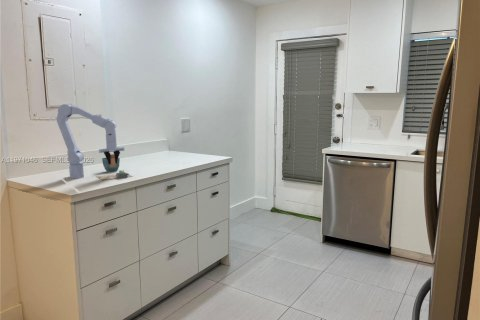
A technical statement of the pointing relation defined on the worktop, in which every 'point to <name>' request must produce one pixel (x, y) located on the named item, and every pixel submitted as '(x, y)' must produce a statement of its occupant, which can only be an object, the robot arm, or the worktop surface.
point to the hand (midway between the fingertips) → (112, 163)
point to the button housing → (121, 175)
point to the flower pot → (107, 166)
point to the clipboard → (110, 177)
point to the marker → (112, 160)
